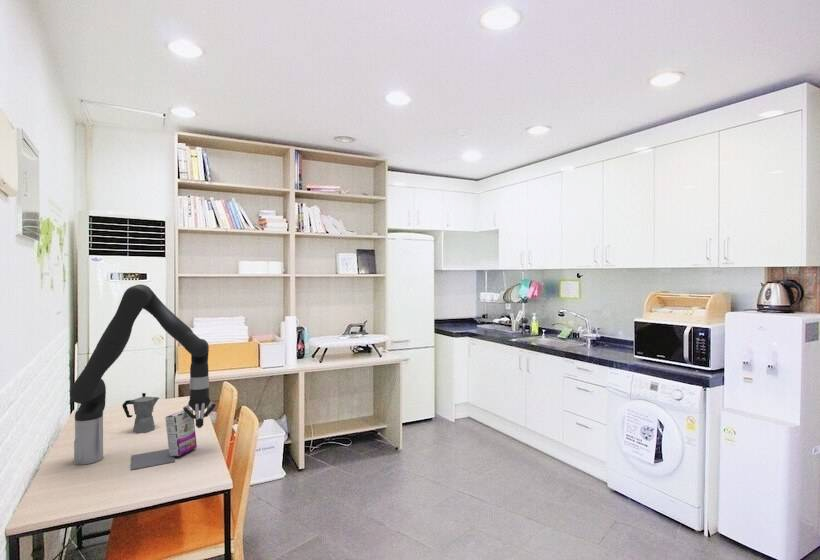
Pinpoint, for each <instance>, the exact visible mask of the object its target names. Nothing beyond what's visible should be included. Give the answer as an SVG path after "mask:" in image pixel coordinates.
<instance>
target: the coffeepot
mask: <svg viewBox="0 0 820 560" xmlns="http://www.w3.org/2000/svg"><path fill="white" fill-rule="evenodd" d="M146 395H147V394H146V392H142V393H141V397H138V398H134V399H129V400H125V401H124V402H123V403H122V410H124V414H125V416H126V417H127V418H132V417H133V415H132V414H131V415H130V411H129V409H128V406H127V405H133V411H134V415H135V419H134V424H133V428H132V429H133V430H132V433H134V434H146V433H149V432H152V431H154V430H155V429H156V425H155V420H154V415H153V412H154V407H155V405H156V403H157V402H158V400H160V397H157V396H146Z"/></svg>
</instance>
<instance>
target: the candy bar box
mask: <svg viewBox="0 0 820 560" xmlns="http://www.w3.org/2000/svg"><path fill="white" fill-rule="evenodd" d="M189 411H190V412H191V413H192V414H193V415H194V410H193V409H192V408H191V409H190V410H189ZM164 418H165V427H166V434H167V445H168V446H167V447H168V449H169V456H170V457H174V458H175V457H179V456H183V455H184V454H186V453H189V452H190V451H192V450H194V449H197V447H198V446H197V435H196V428H195V427H196V424H195V419H192V418H191V417H190V416H189V415H188V414H187V413H186V412H185V411H184V410H183V409H182V410H181V411H178V412H175V413H173V414H169V415H167V416H165V417H164Z"/></svg>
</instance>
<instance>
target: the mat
mask: <svg viewBox="0 0 820 560" xmlns="http://www.w3.org/2000/svg"><path fill="white" fill-rule="evenodd" d="M130 460H131V461H130V471H135V470H140V469H146V468H151V467H156V466H161V465H168V464H171V463H176V459H175V456H174V457H170V456H169V448H166V449H160V450H155V451H148V452H142V453H137V454H131V457H130Z"/></svg>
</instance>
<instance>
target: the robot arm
mask: <svg viewBox="0 0 820 560" xmlns="http://www.w3.org/2000/svg"><path fill="white" fill-rule="evenodd" d="M143 310H145V311H146V312H147V313H149V314H150V315H151V316H152V317H153V318H154V319H156V321H157V322H158V323H159V324H160V326H161V327H162V328H163V330H164V331H166V334H168V335H170V336H171V337H172V338H173V339H174V340H175V341H177V342H178V343H179V344H180V345H181V346H182V347H183V348H184V349H185V351H187V352H188V353H189V355H190V356H191V357H190V359H191V361H190V367H189V370H190V371H189V401H188V403H187V405H185V406H183V407H182V408H183V409H182V411H183V410H184V411H185V412H186V413H187V414H188V415H189V416H190V417H191V418H192V419H194V420H195V427H197V429H201V428H202V427H203V426H204V418H207V417H208V416H210V414H211V412H213V410H214V409H215V408H216V403H215V402H212V401H211V399H210V377H209V350H210V348H209V342H207V340H205V339H204V338H200V337H198V335H197V334H195V333H194V331H193V330H192V328H190V327H189V326H188V325H187V324H186V323H185V322H184V321H182V320H181V319H180V318H179V317H177V316H176V315H175V313H173V311H171V310H170V309H169V307H167V306H166V305H165V304H164V303H163V302H162V301H161V300H160V298H159V297H158V296H157V295H156V294H155V293H154V291H153V290H152V289H151V288H150V286H148V285H145V284H142V283H141V284H136V285H133V286H130V287H129V288H127V289H126V290H125V291H124V293H123V295H122V297H121V301H120V302H119V304H118V307H117V310H116V312H115V314H114V316H113V317H112V319H111V320H110V322H109V323H108V325H107V327H106V328H105V330H104V332H103V333H102V334H101V337H100V338H99V341H98V342H97V344H96V346H95V348H94V350H93V352H92V354H91V356H90V357H89V359H88V361H87V363H86V365H85V366H84V367H83V368H84V369H82V370H81V373H80V374H79V376H77V379H76V380H75V381H74V383H72V386H71V388H70V391H69V393H70V395H69V396H70V399H71V400H72V401H73V403H75V404H79V407H78V408H77V410H76V411H75V413H74V440H73V449H74V451H73V453H74V455H73V463H74V466H77V465H81V466H83V465H90V464H94V463H97V462H99V461H101V460H103V459H104V410H105V408H106V398H107V397H106V394H107V392H106V391H107V387H106V383H105V381H104V380H103V379H102V378H103V376H105V375H104V374H105V373H106V372H107V371H108V369H109V368H110V367H111V366H112V365H113V364H114V363H115V362H116V361H117V360H118V359H119V358H120V356H121V355H122V353H123V352H124V350H125V348H126V346H127V344H128V342H129V340H130V337H131V334H132V332H133V331H132V330H133V326H134V324H135V321H136V320H137V318H138V316H139V315H140V314H141V311H143ZM190 408H191V409H193V412H195V413H193V414H192V413H191V412H190V411H189V410H190ZM206 409H207V410H206ZM202 429H203V428H202Z"/></svg>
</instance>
